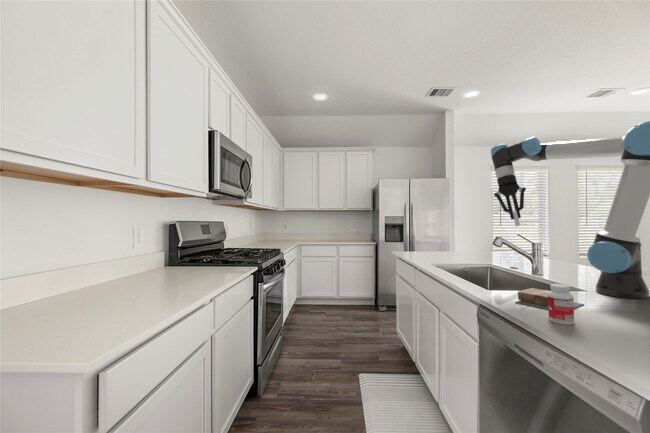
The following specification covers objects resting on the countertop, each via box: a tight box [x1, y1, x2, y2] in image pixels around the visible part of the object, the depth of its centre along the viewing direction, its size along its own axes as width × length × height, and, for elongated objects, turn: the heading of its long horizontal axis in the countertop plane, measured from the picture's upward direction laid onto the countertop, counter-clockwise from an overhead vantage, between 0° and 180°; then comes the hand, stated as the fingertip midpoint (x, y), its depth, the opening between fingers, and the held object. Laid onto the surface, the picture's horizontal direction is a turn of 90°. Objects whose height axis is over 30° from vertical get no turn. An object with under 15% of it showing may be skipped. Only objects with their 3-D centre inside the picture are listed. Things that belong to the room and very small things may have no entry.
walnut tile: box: [517, 287, 551, 306], centre depth 110 cm, size 3×10×13 cm
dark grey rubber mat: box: [514, 300, 585, 311], centre depth 109 cm, size 15×16×1 cm
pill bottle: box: [548, 283, 575, 326], centre depth 91 cm, size 6×6×11 cm
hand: (517, 225), depth 136 cm, fingers closed
